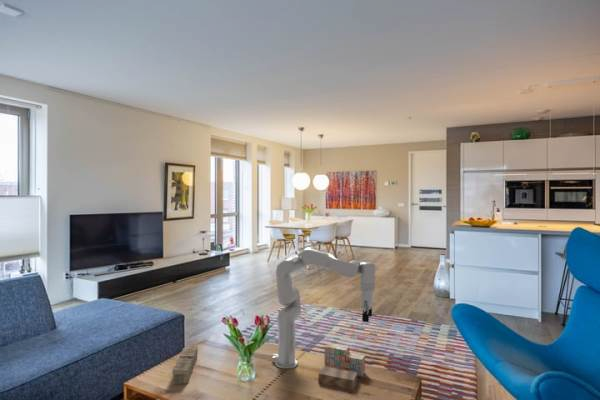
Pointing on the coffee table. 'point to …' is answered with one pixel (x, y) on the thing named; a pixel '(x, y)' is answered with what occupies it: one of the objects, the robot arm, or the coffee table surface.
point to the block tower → (185, 365)
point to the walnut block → (337, 377)
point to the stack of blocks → (344, 359)
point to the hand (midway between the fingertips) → (367, 318)
